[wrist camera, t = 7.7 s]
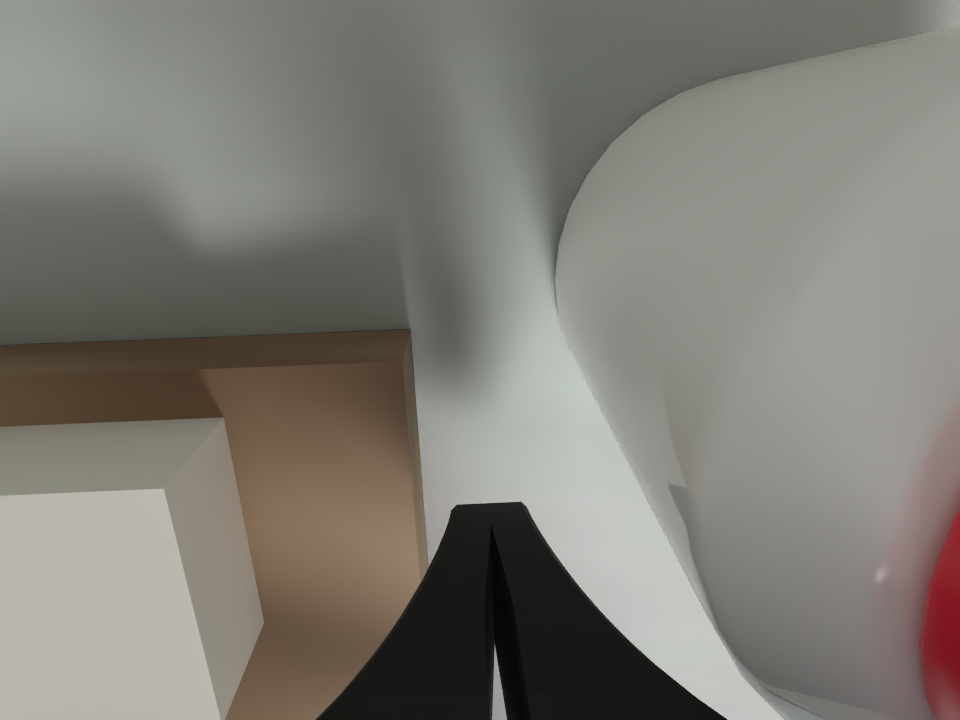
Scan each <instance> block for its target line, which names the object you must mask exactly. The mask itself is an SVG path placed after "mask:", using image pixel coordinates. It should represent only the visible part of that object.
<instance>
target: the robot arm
mask: <svg viewBox="0 0 960 720" xmlns="http://www.w3.org/2000/svg"><path fill="white" fill-rule="evenodd" d="M494 645H495V647H496V653H497V659H498V666H499V672H500V678H501V684H502V690H503V696H504V703H505V709H506V715H507V720H727V719H726V718H724V717H723V716H722V715H720V714H719V713H717V712H716V711H714V710H713V709H712V708H710V707H709V706H707V705H706V704H705V703H703V702H702V701H700V700H699V699H697V698H696V697H695V696H694V695H692V694H691V693H690V692H689V691H687V690H686V689H685V688H684V687H682V686H681V685H680V684H679V683H677V682H676V681H675V680H674V679H672V678H671V677H670V676H669V675H667V674H666V673H665V672H664V671H663V670H661V669H660V668H659V667H658V666H656V665H655V664H654V663H653V662H652V661H651V660H650V659H648V658H647V657H646V656H645V655H644V654H643V653H642V652H641V651H640V650H639V649H637V648H636V647H635V646H634V645H633V644H632V643H631V642H630V641H629V640H628V639H627V638H626V637H625V636H624V635H623V634H622V633H621V632H620V631H619V630H618V629H617V628H616V627H615V626H614V625H613V624H612V623H611V622H610V621H609V620H608V619H607V618H606V617H605V616H604V615H603V613H602V612H601V611H600V610H599V609H598V608H597V607H596V606H595V605H594V603H593V602H592V601H591V600H590V599H589V598H588V596H587V595H586V594H585V593H584V592H583V590H582V589H581V588H580V587H579V586H578V584H577V583H576V582H575V581H574V579H573V578H572V577H571V576H570V574H569V573H568V571H567V570H566V569H565V567H564V566H563V565H562V563H561V562H560V561H559V559H558V558H557V557H556V555H555V554H554V552H553V551H552V549H551V548H550V547H549V545H548V544H547V542H546V540H545V539H544V537H543V536H542V534H541V533H540V531H539V529H538V528H537V526H536V524H535V522H534V521H533V519H532V517H531V515H530V513H529V511H528V509H527V507H526V506H525V505H524V504H523V503H522V502H509V503H487V504H464V505H456V506H455V507H454V508H453V509H452V510H451V514H450V518H449V522H448V525H447V528H446V531H445V533H444V536H443V538H442V540H441V543H440V545H439V547H438V550H437V552H436V554H435V556H434V558H433V560H432V562H431V564H430V566H429V568H428V570H427V572H426V574H425V576H424V578H423V580H422V581H421V583H420V585H419V586H418V588H417V590H416V592H415V593H414V595H413V597H412V598H411V600H410V602H409V603H408V605H407V607H406V608H405V610H404V612H403V613H402V615H401V616H400V618H399V619H398V621H397V622H396V624H395V625H394V627H393V628H392V630H391V631H390V632H389V634H388V635H387V637H386V638H385V639H384V641H383V642H382V643H381V645H380V646H379V647H378V649H377V650H376V651H375V653H374V654H373V655H372V657H371V658H370V659H369V660H368V661H367V663H366V664H365V665H364V666H363V668H362V669H361V670H360V671H359V672H358V674H357V675H356V676H355V677H354V679H353V680H352V681H351V682H350V683H349V684H348V686H347V687H346V688H345V689H344V690H343V691H342V692H341V694H340V695H339V696H338V697H337V698H336V699H335V700H334V701H333V702H332V703H331V704H330V705H329V706H328V707H327V708H326V709H325V710H324V711H323V712H322V713H321V714H320V715H319V716H318V717H317V718H316V719H315V720H492V702H493V674H494Z"/></svg>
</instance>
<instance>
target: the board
mask: <svg viewBox="0 0 960 720" xmlns="http://www.w3.org/2000/svg"><path fill="white" fill-rule="evenodd" d="M223 417H224V422H225V427H226V432H227V437H228V442H229V447H230V452H231V457H232V463H233V468H234V473H235V478H236V483H237V488H238V493H239V498H240V503H241V508H242V513H243V518H244V523H245V528H246V533H247V538H248V544H249V549H250V554H251V559H252V564H253V569H254V574H255V579H256V584H257V589H258V594H259V599H260V604H261V609H262V614H263V619H264V624H263V626H262V629H261V631H260V634H259V636H258V639H257V641H256V644H255V646H254V649H253V651H252V654H251V656H250V659H249V661H248V664H247V666H246V669H245V671H244V674H243V676H242V678H241V681H240V683H239V686H238V688H237V691H236V693H235V696H234V698H233V701H232V703H231V706H230V708H229V711H228V713H227V716H226V718H225V720H315V719H316V718H317V717H318V716H319V715H320V714H321V713H322V712H323V711H324V710H325V709H326V708H327V707H328V706H329V705H330V704H331V703H332V702H333V701H334V700H335V699H336V698H337V697H338V696H339V695H340V694H341V692H342V691H343V690H344V689H345V688H346V687H347V686H348V684H349V683H350V682H351V681H352V680H353V679H354V677H355V676H356V675H357V674H358V672H359V671H360V670H361V669H362V668H363V666H364V665H365V664H366V663H367V661H368V660H369V659H370V658H371V657H372V655H373V654H374V653H375V651H376V650H377V649H378V647H379V646H380V645H381V643H382V642H383V641H384V639H385V638H386V637H387V635H388V634H389V632H390V631H391V630H392V628H393V627H394V625H395V624H396V622H397V621H398V619H399V618H400V616H401V615H402V613H403V612H404V610H405V608H406V607H407V605H408V603H409V602H410V600H411V598H412V597H413V595H414V593H415V592H416V590H417V588H418V586H419V585H420V583H421V581H422V580H423V578H424V576H425V574H426V572H427V570H428V557H427V544H426V530H425V517H424V503H423V490H422V477H421V463H420V450H419V436H418V423H417V409H416V396H415V383H414V369H413V356H412V342H411V329H408V330H382V331H357V332H331V333H305V334H280V335H254V336H229V337H203V338H177V339H152V340H126V341H101V342H75V343H50V344H24V345H0V427H7V426H31V425H55V424H79V423H103V422H127V421H151V420H175V419H199V418H223Z"/></svg>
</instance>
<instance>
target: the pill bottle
mask: <svg viewBox="0 0 960 720" xmlns="http://www.w3.org/2000/svg"><path fill="white" fill-rule="evenodd" d="M555 290H556V300H557V311H558V316H559V320H560V323H561V326H562V329H563V333H564V336H565V339H566V342H567V345H568V348H569V350H570V352H571V354H572V356H573V357H574V359H575V361H576V363H577V365H578V367H579V369H580V371H581V373H582V375H583V377H584V379H585V381H586V383H587V385H588V387H589V388H590V390H591V392H592V394H593V396H594V398H595V400H596V402H597V404H598V406H599V408H600V410H601V412H602V414H603V416H604V417H605V419H606V421H607V423H608V425H609V427H610V429H611V431H612V433H613V435H614V437H615V439H616V441H617V443H618V445H619V447H620V448H621V450H622V452H623V454H624V456H625V458H626V460H627V462H628V464H629V466H630V468H631V470H632V472H633V474H634V476H635V478H636V479H637V481H638V483H639V485H640V487H641V489H642V491H643V493H644V495H645V497H646V499H647V501H648V503H649V505H650V507H651V509H652V510H653V512H654V514H655V516H656V518H657V520H658V522H659V524H660V526H661V528H662V530H663V532H664V534H665V536H666V538H667V539H668V541H669V543H670V545H671V547H672V549H673V551H674V553H675V555H676V557H677V559H678V561H679V563H680V565H681V567H682V569H683V570H684V572H685V574H686V576H687V578H688V580H689V582H690V584H691V586H692V588H693V590H694V592H695V594H696V596H697V598H698V600H699V601H700V603H701V605H702V607H703V609H704V611H705V613H706V614H707V616H708V618H709V620H710V621H711V623H712V625H713V627H714V628H715V630H716V632H717V634H718V635H719V637H720V639H721V641H722V642H723V644H724V646H725V648H726V649H727V651H728V653H729V655H730V656H731V658H732V660H733V662H734V663H735V665H736V667H737V669H738V670H739V672H740V674H741V676H742V677H743V678H744V679H745V680H746V681H747V682H748V683H749V684H750V685H751V686H752V687H753V689H754V690H755V691H756V692H757V693H758V694H759V695H760V696H761V697H762V698H763V699H764V700H765V701H766V702H767V703H768V704H769V705H770V706H771V707H772V708H773V709H774V710H775V711H776V712H777V713H778V714H779V715H780V716H781V717H782V718H783V719H784V720H960V25H959V26H954V27H950V28H945V29H941V30H936V31H932V32H927V33H923V34H918V35H914V36H909V37H905V38H900V39H896V40H891V41H887V42H882V43H878V44H873V45H869V46H864V47H860V48H855V49H851V50H846V51H842V52H837V53H833V54H828V55H824V56H819V57H815V58H810V59H806V60H801V61H797V62H792V63H788V64H783V65H779V66H774V67H769V68H765V69H760V70H756V71H751V72H747V73H742V74H738V75H733V76H729V77H724V78H720V79H717V80H714V81H711V82H709V83H706V84H703V85H700V86H698V87H695V88H692V89H689V90H687V91H684V92H681V93H678V94H677V95H675V96H673V97H672V98H670V99H668V100H667V101H665V102H663V103H662V104H660V105H658V106H657V107H655V108H653V109H652V110H650V111H648V112H647V113H645V114H643V115H642V116H641V117H640V118H639V119H638V120H637V121H636V122H634V123H633V124H632V125H631V126H630V127H629V128H628V129H626V130H625V131H624V132H623V133H622V134H621V135H620V136H619V137H617V138H616V139H615V140H614V141H613V142H612V143H611V144H610V146H609V147H608V148H607V150H606V151H605V152H604V153H603V155H602V156H601V157H600V159H599V160H598V161H597V162H596V164H595V165H594V166H593V167H592V169H591V170H590V171H589V173H588V174H587V176H586V178H585V180H584V182H583V183H582V185H581V187H580V189H579V191H578V193H577V195H576V197H575V199H574V201H573V203H572V204H571V206H570V208H569V211H568V215H567V218H566V221H565V224H564V228H563V231H562V234H561V238H560V241H559V244H558V253H557V262H556V272H555Z"/></svg>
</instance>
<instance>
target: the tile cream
mask: <svg viewBox="0 0 960 720" xmlns="http://www.w3.org/2000/svg"><path fill="white" fill-rule="evenodd" d="M263 624H264V619H263V614H262V609H261V604H260V599H259V594H258V589H257V584H256V579H255V574H254V569H253V564H252V559H251V554H250V549H249V544H248V538H247V533H246V528H245V523H244V518H243V513H242V508H241V503H240V498H239V493H238V488H237V483H236V478H235V473H234V468H233V463H232V457H231V452H230V447H229V442H228V437H227V432H226V427H225V422H224V417H223V418H199V419H175V420H151V421H127V422H103V423H79V424H55V425H31V426H7V427H0V720H225V718H226V716H227V713H228V711H229V708H230V706H231V703H232V701H233V698H234V696H235V693H236V691H237V688H238V686H239V683H240V681H241V678H242V676H243V674H244V671H245V669H246V666H247V664H248V661H249V659H250V656H251V654H252V651H253V649H254V646H255V644H256V641H257V639H258V636H259V634H260V631H261V629H262V626H263Z"/></svg>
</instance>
